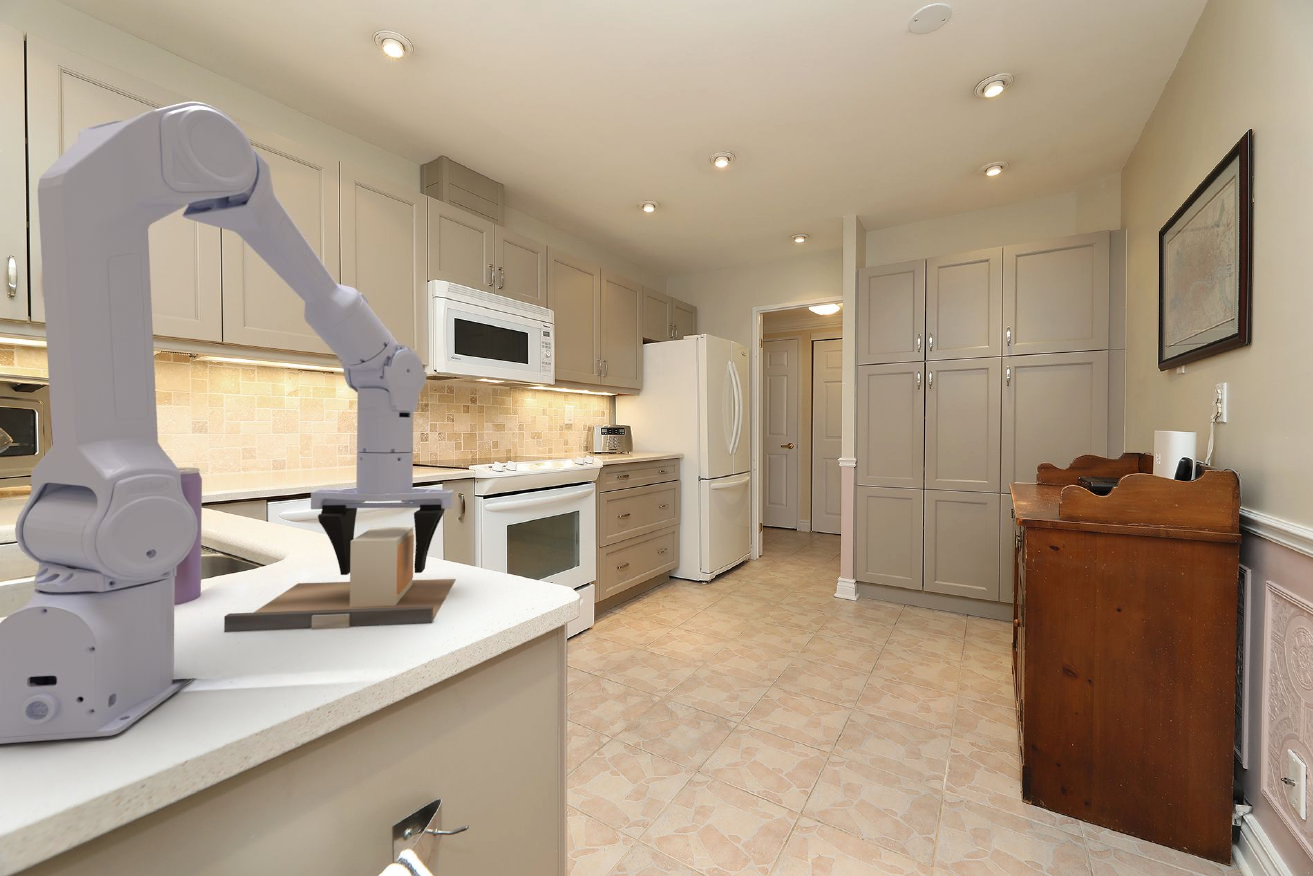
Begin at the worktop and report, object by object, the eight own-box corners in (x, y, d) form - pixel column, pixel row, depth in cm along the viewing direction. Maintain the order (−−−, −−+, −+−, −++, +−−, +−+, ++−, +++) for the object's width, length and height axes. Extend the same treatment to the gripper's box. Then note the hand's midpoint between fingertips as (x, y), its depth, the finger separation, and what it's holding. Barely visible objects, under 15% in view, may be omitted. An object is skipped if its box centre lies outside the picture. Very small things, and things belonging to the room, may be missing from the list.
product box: (414, 584, 68) (415, 526, 68) (397, 605, 60) (398, 540, 60) (372, 585, 67) (373, 527, 67) (349, 607, 59) (350, 541, 59)
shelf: (430, 634, 55) (431, 609, 55) (222, 643, 51) (222, 617, 51) (455, 586, 71) (456, 567, 71) (298, 591, 67) (298, 571, 67)
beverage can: (214, 601, 63) (216, 468, 63) (163, 619, 57) (164, 472, 57) (166, 598, 64) (167, 466, 63) (110, 616, 58) (111, 470, 57)
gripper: (458, 451, 69) (456, 561, 69) (328, 449, 66) (327, 564, 66) (448, 454, 62) (446, 577, 62) (303, 452, 59) (301, 581, 59)
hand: (383, 571), depth 64 cm, fingers open, 7 cm apart
